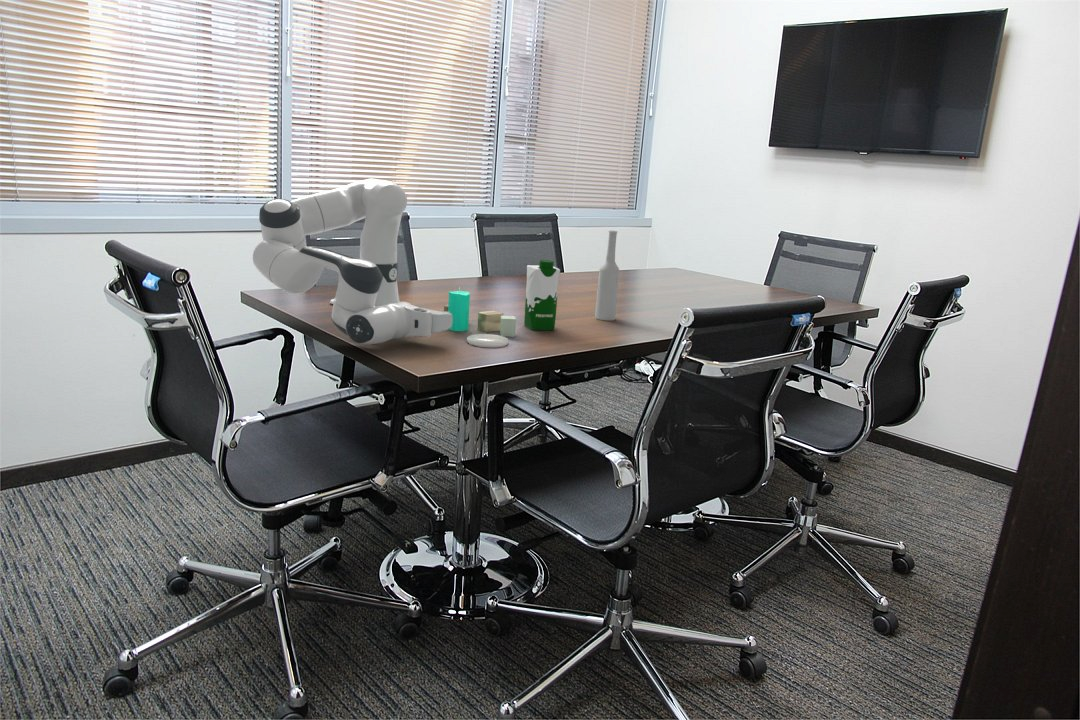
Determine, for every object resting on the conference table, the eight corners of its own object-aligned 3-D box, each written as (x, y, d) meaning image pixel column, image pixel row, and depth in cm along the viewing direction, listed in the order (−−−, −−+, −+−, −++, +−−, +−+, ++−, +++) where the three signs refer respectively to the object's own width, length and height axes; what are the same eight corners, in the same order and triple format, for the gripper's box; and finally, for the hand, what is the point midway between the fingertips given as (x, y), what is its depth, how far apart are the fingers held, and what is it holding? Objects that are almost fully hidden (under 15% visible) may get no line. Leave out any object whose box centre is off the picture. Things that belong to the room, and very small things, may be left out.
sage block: (500, 336, 211) (501, 318, 210) (499, 332, 215) (500, 315, 214) (515, 336, 212) (516, 319, 211) (513, 333, 216) (514, 316, 215)
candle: (449, 331, 213) (450, 288, 210) (445, 326, 218) (447, 284, 215) (470, 331, 214) (472, 289, 211) (466, 326, 220) (468, 285, 217)
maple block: (477, 329, 218) (478, 312, 217) (493, 327, 222) (494, 310, 221) (485, 332, 215) (486, 314, 214) (502, 330, 219) (503, 313, 218)
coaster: (458, 342, 201) (458, 338, 200) (481, 335, 210) (481, 332, 210) (494, 349, 196) (494, 346, 195) (515, 342, 205) (515, 338, 205)
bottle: (614, 321, 242) (622, 232, 235) (593, 319, 243) (601, 230, 236) (616, 317, 248) (624, 231, 241) (596, 315, 249) (603, 229, 242)
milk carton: (530, 331, 220) (535, 262, 215) (520, 324, 228) (524, 257, 223) (558, 330, 223) (563, 262, 218) (547, 323, 231) (552, 258, 226)
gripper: (368, 325, 198) (402, 317, 210) (432, 338, 189) (463, 329, 201) (368, 301, 196) (402, 294, 208) (433, 313, 187) (464, 306, 199)
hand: (433, 312), depth 204 cm, fingers open, 8 cm apart
